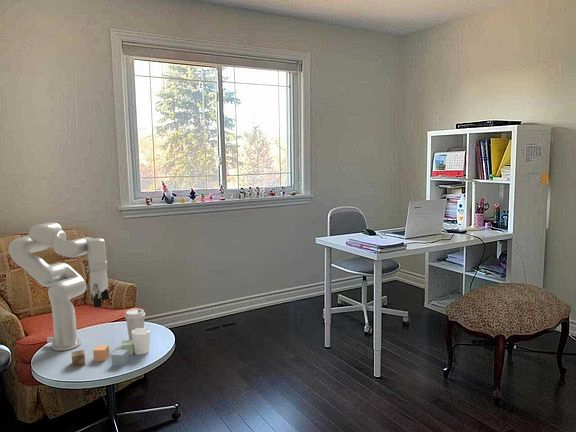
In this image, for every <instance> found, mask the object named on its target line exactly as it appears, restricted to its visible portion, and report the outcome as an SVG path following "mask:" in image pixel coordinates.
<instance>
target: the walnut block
mask: <svg viewBox="0 0 576 432" xmlns="http://www.w3.org/2000/svg"><path fill="white" fill-rule="evenodd" d="M85 355H86V354H85V349H79V350H74V351H71V364H72V368H76V367H77V368H78V367H82V366H86V356H85Z"/></svg>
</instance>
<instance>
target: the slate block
mask: <svg viewBox="0 0 576 432" xmlns="http://www.w3.org/2000/svg"><path fill="white" fill-rule="evenodd" d="M110 357H111V366H115V367H117V366H118V367H124V366H125V364H127V363H128V362H129V355H128V350H121V349H116V350H115V351H114V352H113V353H111V356H110Z"/></svg>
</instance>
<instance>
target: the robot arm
mask: <svg viewBox="0 0 576 432" xmlns="http://www.w3.org/2000/svg"><path fill="white" fill-rule="evenodd" d="M49 247H52V249H53V250H54V252H55V253H56V254H57V255H59V256H63V257H67V258H78V257H81V256H84V255H85V256H86V255H87V260H88V270H89V289H90V290H89V291H90V293H91V295H92V302H93V307H94V308H101V307H102V301H109V300H110V295H109V294H110V293H109V279H108V277H109V276H108V272H107V270H108V261H107V249H106V241H105V239H104V238H99V237H97V238H93V237H91V236H89V237H88V236H86V237H85V236H84V237H81V238H77V239H73V240H67V233H66V232H65V231H64V230H63V228H62V226H61V224H59V223H58V222H54V221H53V222H52V221H51V222H45V223H39V224H36V225H33V226H31V228H30V229H29V231H28V235H25V236H21V237H18V238H15V239H14V240H12V241H11V242H10V243H9V246H8V252H9V253H8V254H9V256H10V258H11V260H13V262H14V263H15V264H17V265H18V267H20V268H22V269H23V270H25V271H26V272H27V273H28V274H29V275H30V276H31V277H32V278H33V280H35V281H36V282H37V283H38V284H39V285H41V286H42V287H49V288H48V291H47V294H48V298H49V301H50V306H51V311H52V312H51V313H52V314H51V315H52V325H53V336H47V337H46V343H47V344H48V343H52V344H51V349H52V351H53V350H54V351H55V352H56V351H57V352H58V351H59V352H61V351H62V352H63V351H69V350H73V349H75V348H78V347H79V346H80V345H81V344H82V341H81V339H80V338H78V334H77V333H78V331H77V320H76V310H75V305H74V304H73V303H72V302H71V299H73V298H75V297H78V296H80V295H81V296H82V295H83V294H84V293H85V292H86V291H87V288H88V287H87V282H86V281H85V279H84V278H83V277H82V276H81V275H80V273H78V272H77V271H76V270H75V269H74V268H72V267H71V266H70V265H69V264H67V263H66V262H56V263H54V264H49V263H47V262H46V261H45V260H44V259H43V258H41V257H40V256H37V255H34V254H33V253H37V252H41V251H45V250H47V249H48V248H49Z"/></svg>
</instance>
